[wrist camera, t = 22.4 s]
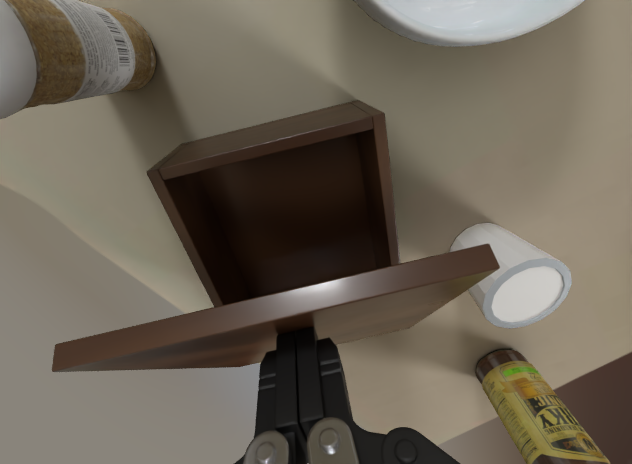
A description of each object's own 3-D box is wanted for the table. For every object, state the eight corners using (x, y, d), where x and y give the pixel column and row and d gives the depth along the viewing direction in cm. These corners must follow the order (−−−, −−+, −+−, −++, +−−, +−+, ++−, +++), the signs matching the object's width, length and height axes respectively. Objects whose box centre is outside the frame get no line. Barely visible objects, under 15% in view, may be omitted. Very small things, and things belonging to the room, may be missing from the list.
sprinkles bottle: (72, 5, 19) (-286, -90, 7) (152, 13, 19) (-54, -63, 7) (92, 89, 21) (-156, 124, 9) (164, 94, 21) (17, 134, 10)
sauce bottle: (533, 351, 38) (742, 595, 21) (501, 383, 41) (664, 624, 23) (491, 340, 37) (680, 595, 19) (461, 375, 39) (603, 627, 22)
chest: (180, 143, 23) (145, 171, 17) (358, 99, 23) (384, 112, 17) (247, 300, 30) (239, 356, 25) (382, 268, 30) (406, 318, 24)
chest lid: (54, 344, 10) (50, 372, 9) (489, 242, 9) (501, 268, 9) (237, 356, 24) (238, 367, 24) (406, 317, 24) (410, 328, 24)
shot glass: (512, 266, 31) (568, 315, 25) (445, 285, 32) (484, 338, 26) (514, 207, 28) (578, 247, 22) (439, 229, 29) (482, 275, 22)
